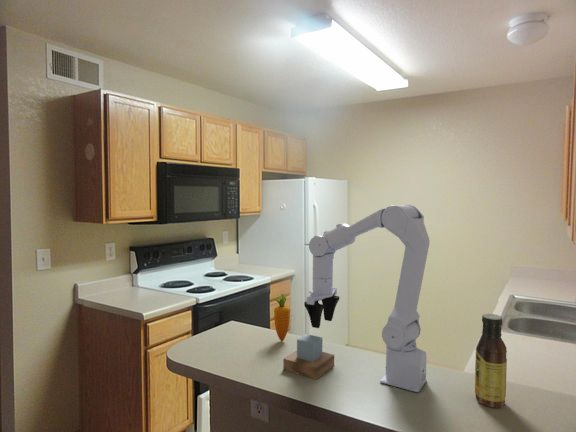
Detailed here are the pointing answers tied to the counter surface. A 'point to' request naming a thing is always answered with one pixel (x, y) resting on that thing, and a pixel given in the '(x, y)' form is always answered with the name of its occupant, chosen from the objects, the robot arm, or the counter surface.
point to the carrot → (281, 318)
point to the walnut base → (308, 365)
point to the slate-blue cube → (309, 347)
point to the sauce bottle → (491, 363)
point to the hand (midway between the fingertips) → (322, 323)
